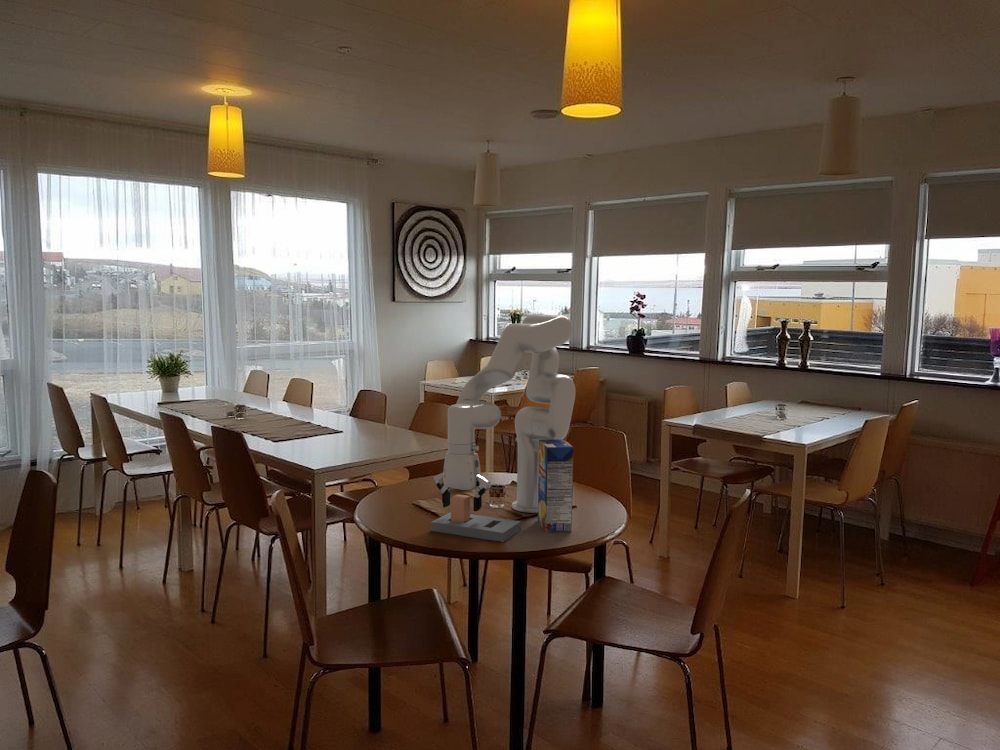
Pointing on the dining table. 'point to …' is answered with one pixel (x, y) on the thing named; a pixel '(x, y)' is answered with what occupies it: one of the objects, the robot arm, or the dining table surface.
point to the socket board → (478, 527)
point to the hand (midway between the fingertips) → (461, 508)
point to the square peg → (460, 508)
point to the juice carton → (555, 485)
